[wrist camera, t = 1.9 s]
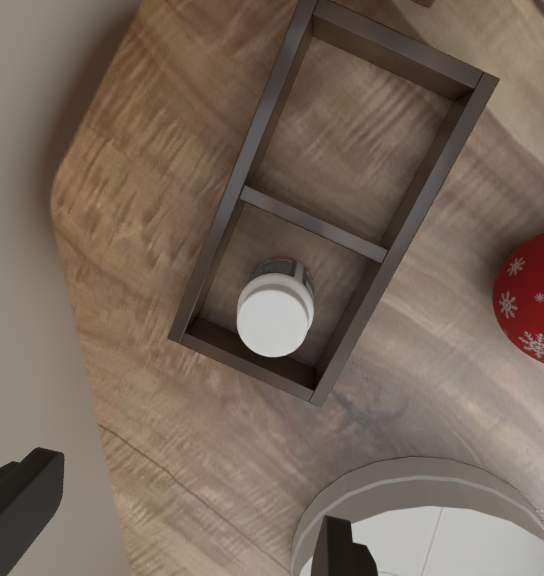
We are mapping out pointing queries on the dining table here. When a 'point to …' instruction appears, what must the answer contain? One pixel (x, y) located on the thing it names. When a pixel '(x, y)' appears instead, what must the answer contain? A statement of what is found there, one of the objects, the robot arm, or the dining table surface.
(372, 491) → the dish
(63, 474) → the robot arm
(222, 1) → the dining table surface
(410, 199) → the rack
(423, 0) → the riser
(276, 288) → the pill bottle
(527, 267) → the christmas ornament
